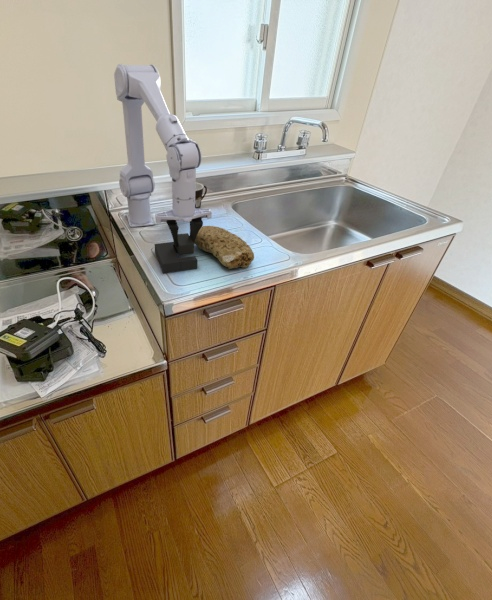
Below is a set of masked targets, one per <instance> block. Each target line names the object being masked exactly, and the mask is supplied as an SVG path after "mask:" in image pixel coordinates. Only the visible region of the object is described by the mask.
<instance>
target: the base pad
mask: <svg viewBox="0 0 492 600" xmlns="http://www.w3.org/2000/svg"><path fill="white" fill-rule="evenodd" d="M154 254H155V257H156V259H157V262H158V264H159V267H160V269H161V272H162V274H170V273H177V272H184V271H191V270H197V269H198V258H197V256H196V255H192V256H185V257H179V252H178V250H177V248H176V247H175V245H174V241H167V242H159V243H154Z"/></svg>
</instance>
